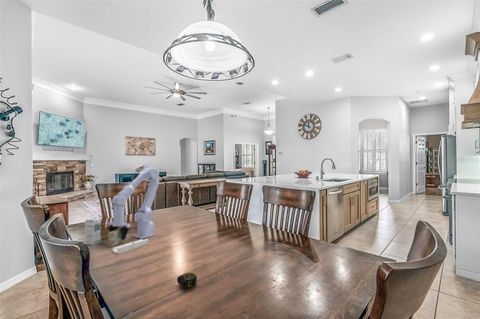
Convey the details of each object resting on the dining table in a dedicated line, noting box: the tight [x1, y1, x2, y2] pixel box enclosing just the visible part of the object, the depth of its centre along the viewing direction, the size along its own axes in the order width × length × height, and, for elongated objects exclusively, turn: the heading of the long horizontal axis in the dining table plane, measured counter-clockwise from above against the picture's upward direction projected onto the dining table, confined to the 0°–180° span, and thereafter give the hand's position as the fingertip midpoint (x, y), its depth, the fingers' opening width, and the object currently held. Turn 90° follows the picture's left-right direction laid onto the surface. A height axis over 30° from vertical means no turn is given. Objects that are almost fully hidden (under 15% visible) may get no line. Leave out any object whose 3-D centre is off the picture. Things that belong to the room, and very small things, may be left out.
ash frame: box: [107, 227, 130, 248], centre depth 139 cm, size 14×3×8 cm, turn 163°
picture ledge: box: [111, 238, 149, 255], centre depth 131 cm, size 17×7×4 cm, turn 143°
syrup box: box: [84, 216, 102, 246], centre depth 139 cm, size 6×6×14 cm
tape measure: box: [176, 272, 198, 290], centre depth 92 cm, size 7×7×4 cm
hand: (119, 238), depth 139 cm, fingers open, 6 cm apart
